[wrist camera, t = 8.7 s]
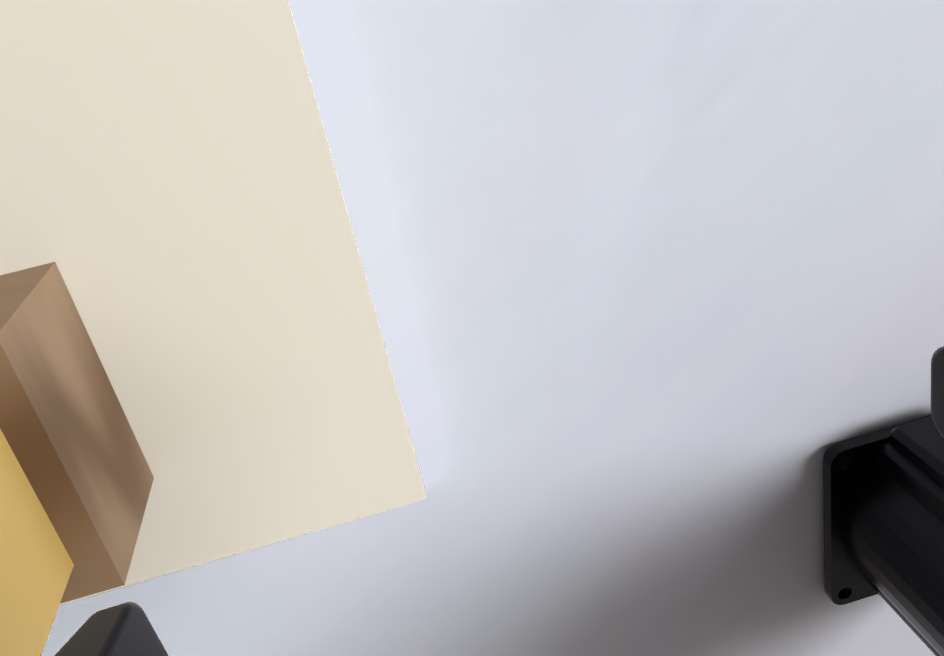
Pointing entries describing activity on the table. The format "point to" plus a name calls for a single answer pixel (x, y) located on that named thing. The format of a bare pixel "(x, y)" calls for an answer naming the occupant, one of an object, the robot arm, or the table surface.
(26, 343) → the walnut brick
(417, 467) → the building board
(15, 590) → the ochre brick
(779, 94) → the table surface
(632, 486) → the table surface
